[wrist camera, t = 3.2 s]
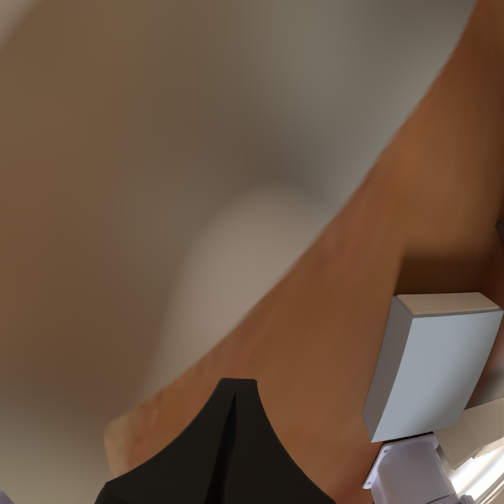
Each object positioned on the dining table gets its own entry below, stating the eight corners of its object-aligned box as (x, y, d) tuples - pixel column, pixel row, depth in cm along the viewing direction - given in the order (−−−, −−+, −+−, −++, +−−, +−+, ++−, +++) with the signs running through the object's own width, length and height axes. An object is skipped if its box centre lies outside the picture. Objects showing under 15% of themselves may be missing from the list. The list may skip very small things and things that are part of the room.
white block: (439, 400, 24) (455, 425, 20) (360, 411, 24) (371, 442, 20) (478, 289, 21) (504, 308, 17) (391, 291, 21) (413, 315, 17)
